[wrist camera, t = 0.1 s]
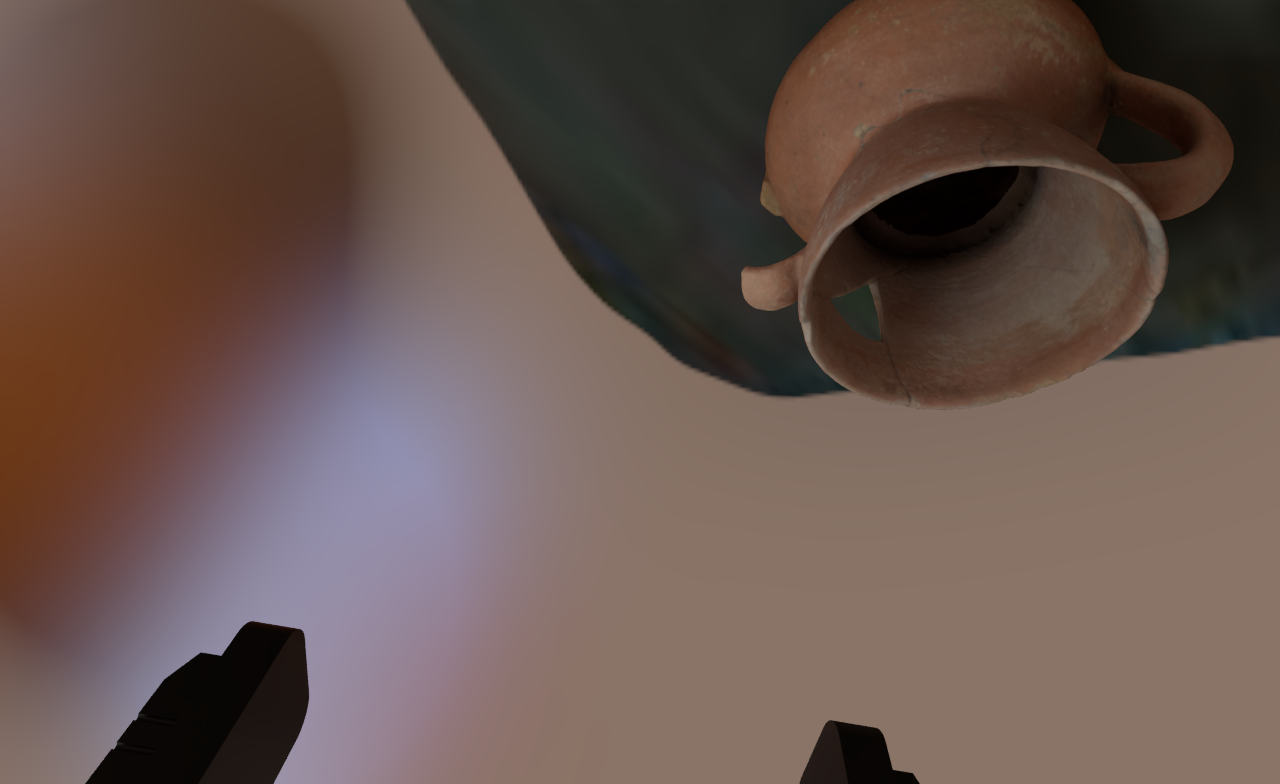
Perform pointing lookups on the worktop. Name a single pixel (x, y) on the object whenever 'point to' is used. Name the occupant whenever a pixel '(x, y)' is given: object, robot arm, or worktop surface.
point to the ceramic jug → (972, 196)
